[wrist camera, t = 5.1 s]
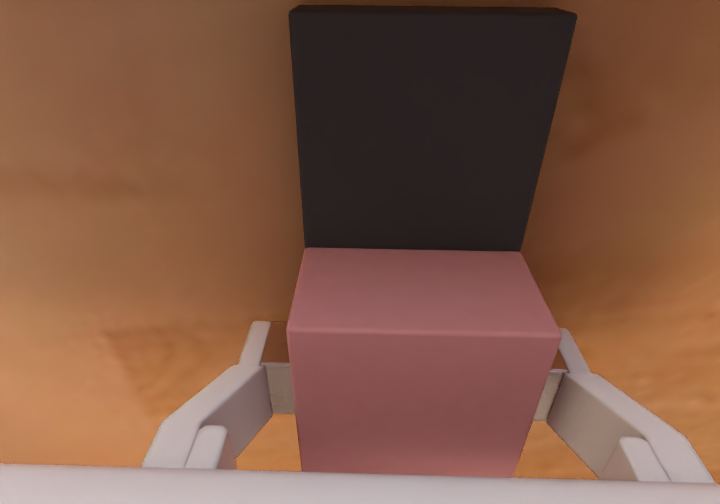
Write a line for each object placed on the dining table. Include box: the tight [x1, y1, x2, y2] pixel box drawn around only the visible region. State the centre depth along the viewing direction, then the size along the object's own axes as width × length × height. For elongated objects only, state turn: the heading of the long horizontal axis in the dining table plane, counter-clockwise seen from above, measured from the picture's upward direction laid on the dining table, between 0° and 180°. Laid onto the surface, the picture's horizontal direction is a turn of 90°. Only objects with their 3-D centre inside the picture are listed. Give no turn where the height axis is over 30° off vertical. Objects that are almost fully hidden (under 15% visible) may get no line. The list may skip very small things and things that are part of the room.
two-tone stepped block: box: [286, 5, 577, 477], centre depth 11 cm, size 11×5×4 cm, turn 179°
